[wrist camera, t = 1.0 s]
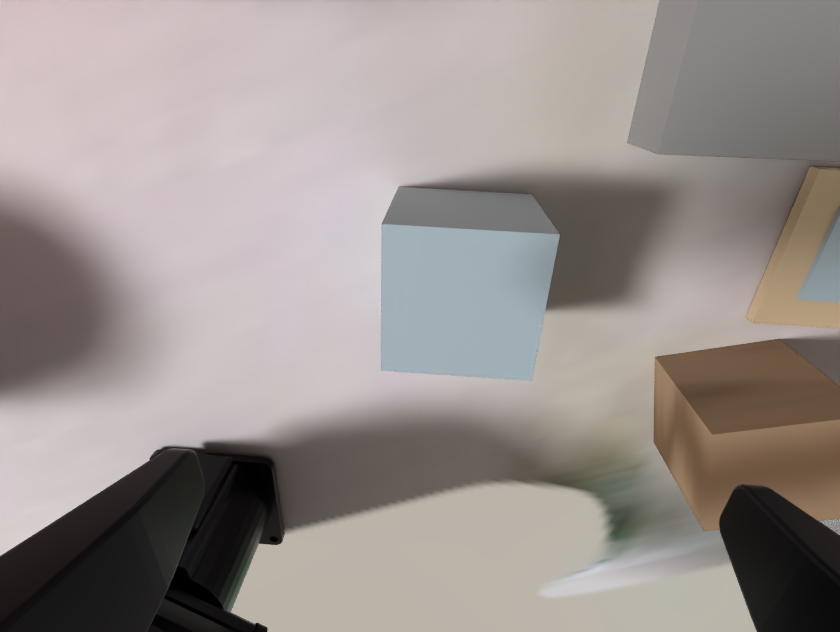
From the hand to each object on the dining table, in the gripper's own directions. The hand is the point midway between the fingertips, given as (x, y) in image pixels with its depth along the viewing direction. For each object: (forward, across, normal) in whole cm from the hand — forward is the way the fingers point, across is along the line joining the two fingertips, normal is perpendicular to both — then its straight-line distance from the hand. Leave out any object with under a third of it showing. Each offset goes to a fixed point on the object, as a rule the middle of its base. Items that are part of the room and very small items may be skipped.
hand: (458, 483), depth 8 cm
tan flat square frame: (+12, -15, -1) cm, 19 cm away
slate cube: (+12, 0, 0) cm, 12 cm away
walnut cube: (+12, -12, +6) cm, 18 cm away
